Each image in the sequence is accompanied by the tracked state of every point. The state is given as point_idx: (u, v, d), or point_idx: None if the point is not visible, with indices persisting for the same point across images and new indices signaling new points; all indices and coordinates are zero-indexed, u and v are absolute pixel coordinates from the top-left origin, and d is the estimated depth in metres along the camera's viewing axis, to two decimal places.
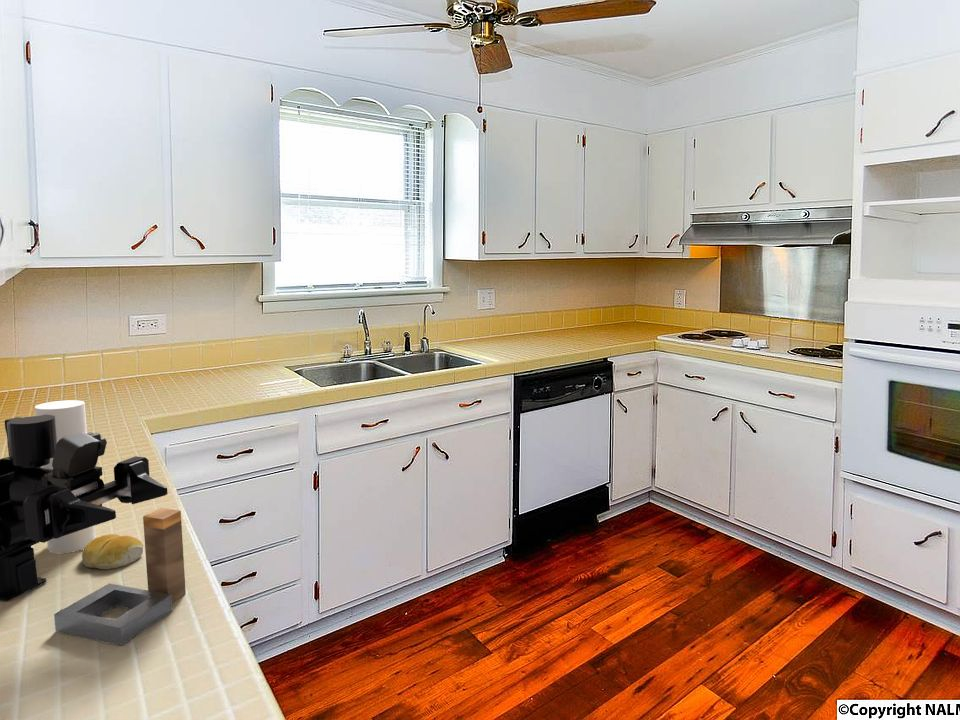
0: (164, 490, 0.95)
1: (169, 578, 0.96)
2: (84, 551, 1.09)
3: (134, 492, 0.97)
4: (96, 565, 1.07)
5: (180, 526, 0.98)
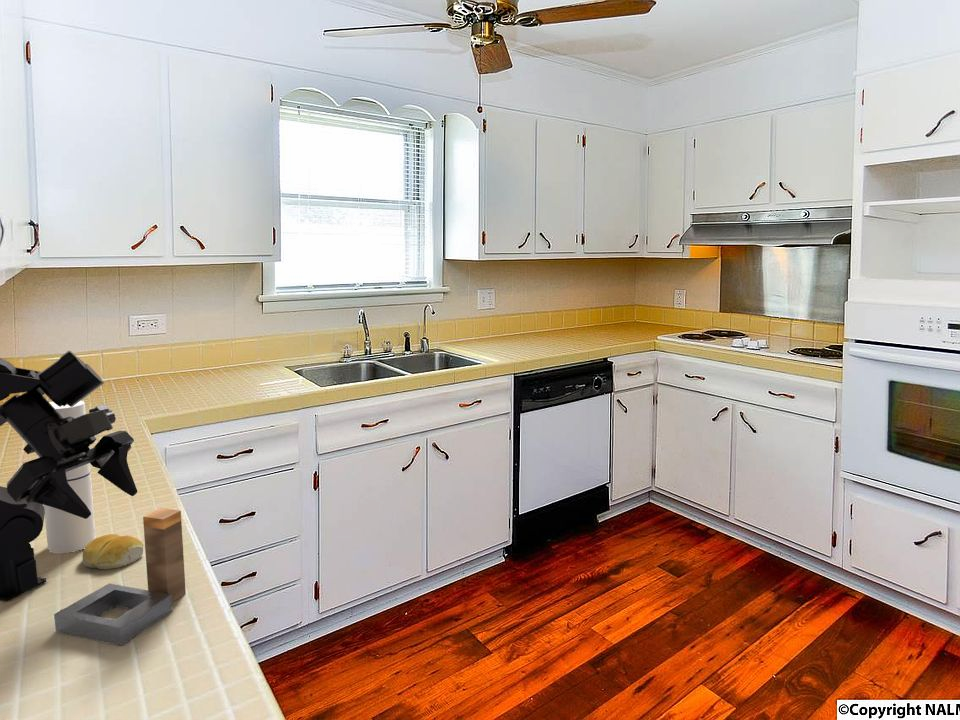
0: (134, 493, 1.02)
1: (169, 578, 0.96)
2: (84, 551, 1.09)
3: (106, 468, 1.03)
4: (96, 565, 1.07)
5: (180, 526, 0.98)
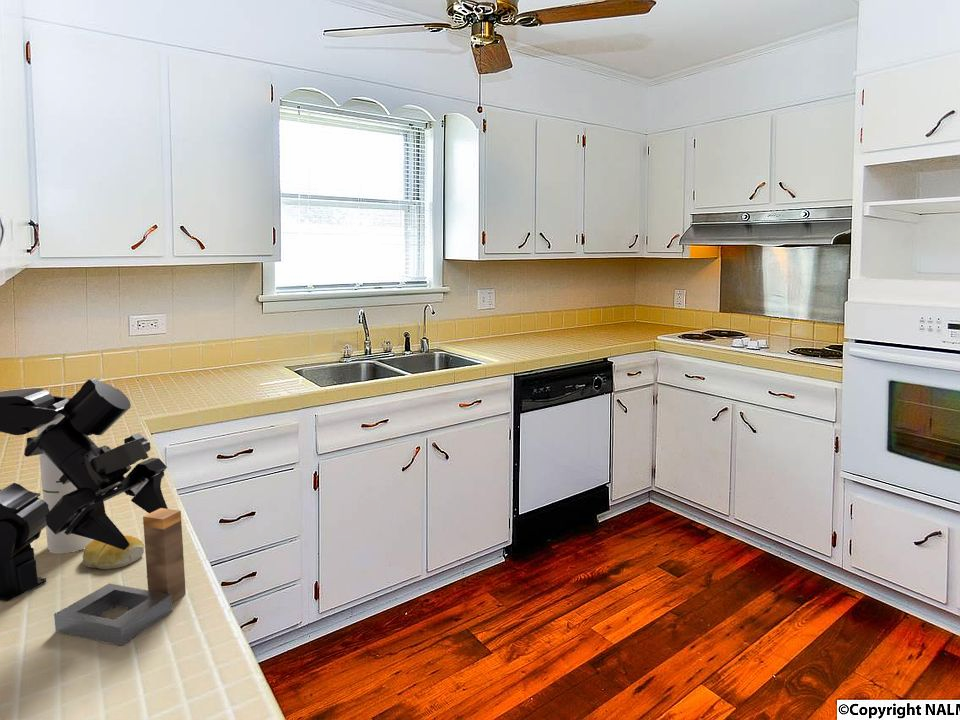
0: None
1: (169, 578, 0.96)
2: (85, 551, 1.09)
3: (140, 496, 1.03)
4: (97, 565, 1.07)
5: (180, 526, 0.98)
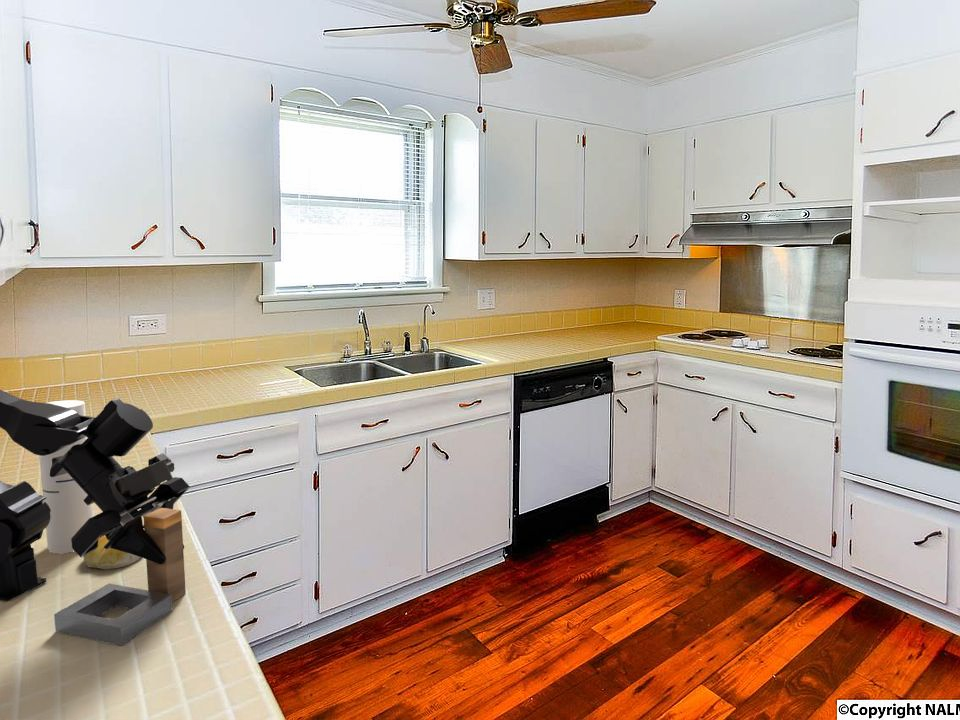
0: None
1: (169, 578, 0.96)
2: None
3: None
4: (98, 565, 1.07)
5: (180, 526, 0.98)
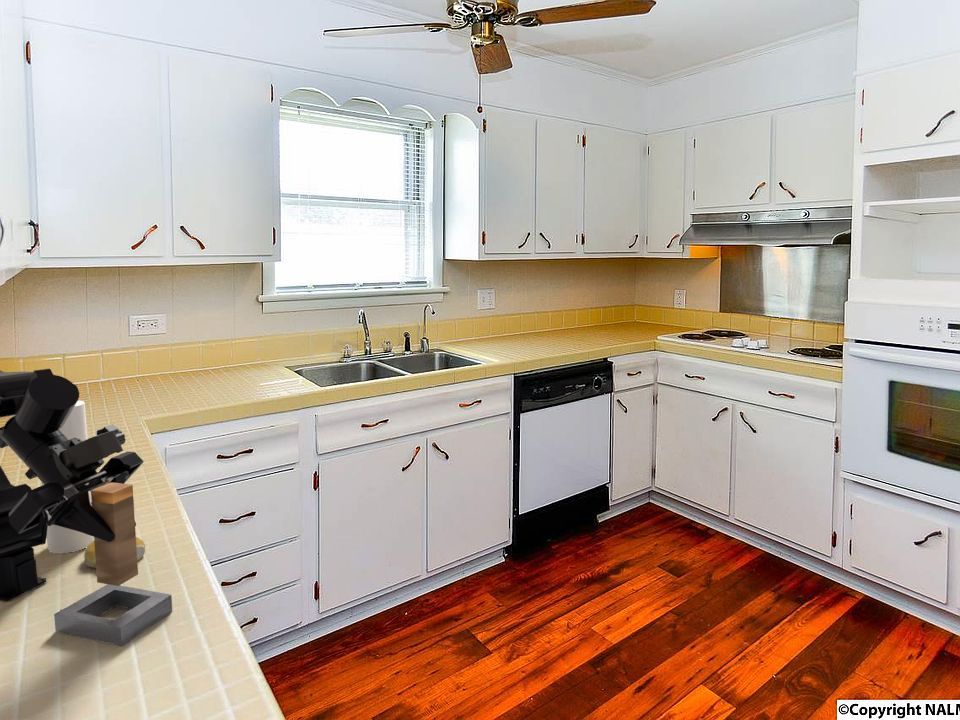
0: None
1: (119, 557, 0.89)
2: (86, 551, 1.09)
3: None
4: None
5: (132, 501, 0.91)
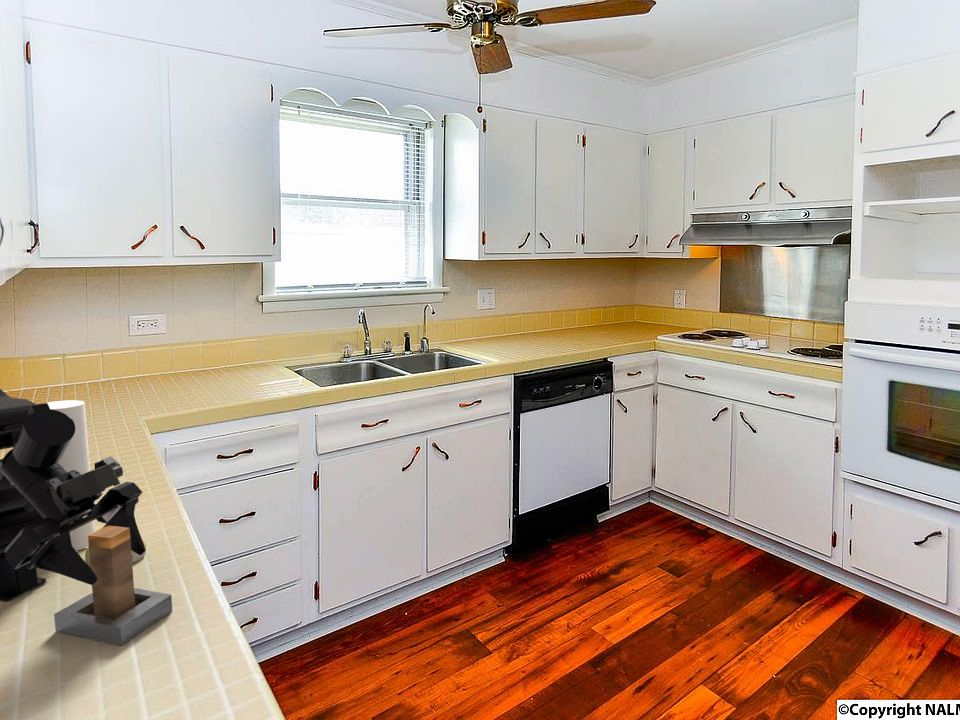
0: (142, 551, 0.94)
1: (117, 600, 0.90)
2: (87, 551, 1.09)
3: (112, 524, 0.95)
4: None
5: (129, 544, 0.91)
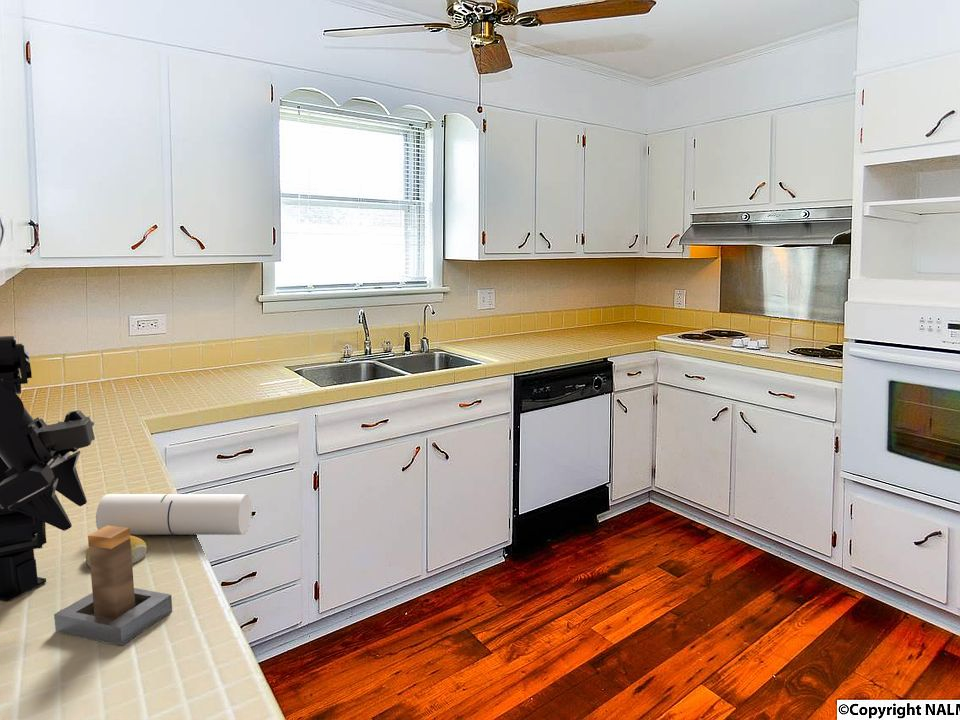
0: (83, 503, 0.99)
1: (117, 600, 0.90)
2: (88, 551, 1.08)
3: (52, 474, 0.98)
4: None
5: (129, 544, 0.91)
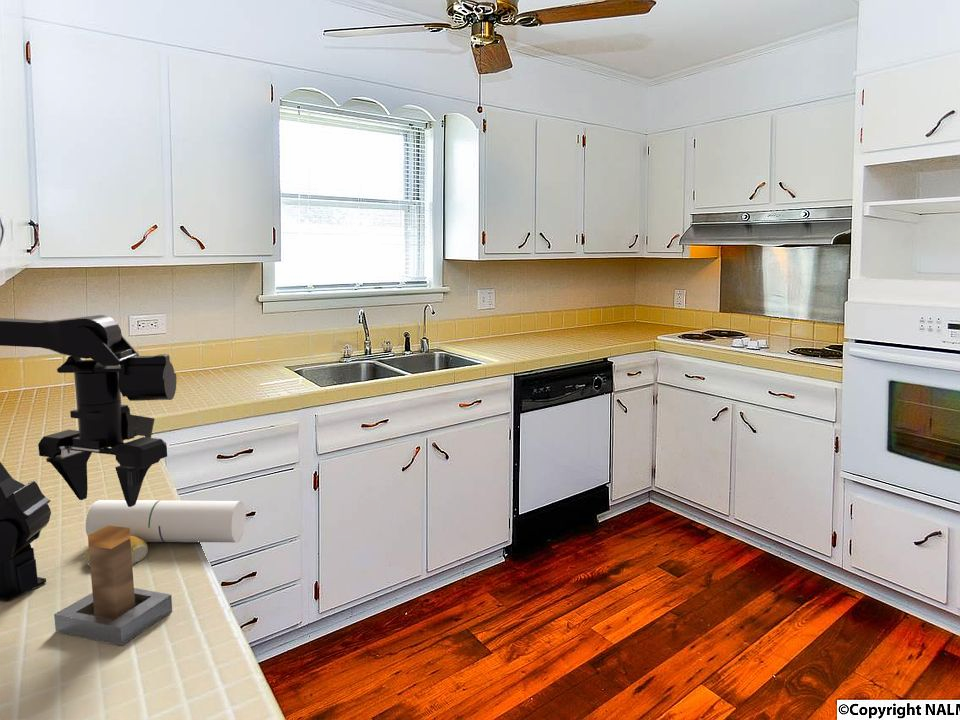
0: (85, 497, 1.02)
1: (117, 600, 0.90)
2: None
3: (71, 462, 1.00)
4: None
5: (129, 544, 0.91)
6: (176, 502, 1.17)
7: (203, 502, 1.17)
